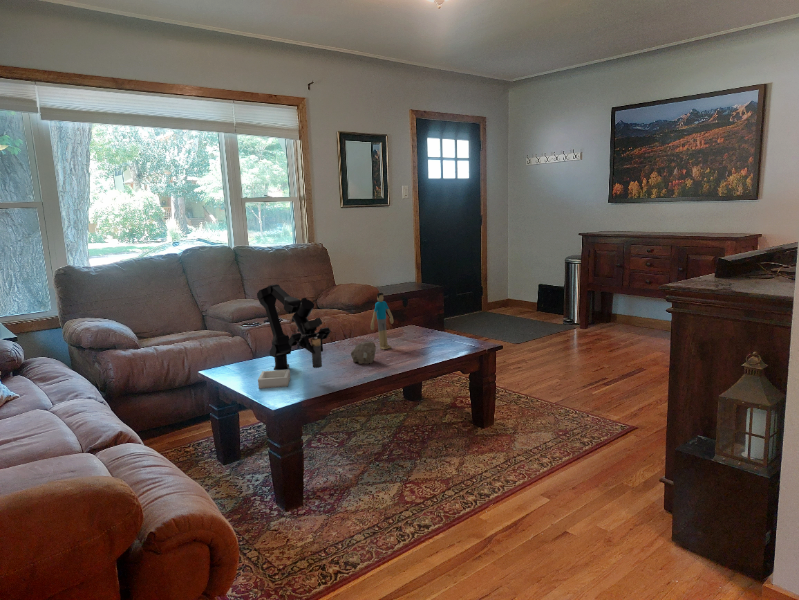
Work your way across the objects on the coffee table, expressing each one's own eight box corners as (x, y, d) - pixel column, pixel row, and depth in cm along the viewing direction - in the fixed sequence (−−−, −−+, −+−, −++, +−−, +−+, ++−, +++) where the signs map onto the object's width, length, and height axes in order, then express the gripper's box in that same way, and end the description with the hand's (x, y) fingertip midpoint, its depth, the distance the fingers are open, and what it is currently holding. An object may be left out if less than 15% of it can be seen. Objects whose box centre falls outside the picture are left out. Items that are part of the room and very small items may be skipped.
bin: (263, 379, 241) (262, 371, 240) (290, 378, 242) (289, 369, 241) (258, 388, 229) (257, 379, 228) (287, 386, 230) (286, 377, 229)
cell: (313, 365, 236) (311, 336, 233) (322, 364, 236) (320, 335, 234) (312, 368, 232) (310, 338, 229) (321, 367, 232) (320, 338, 230)
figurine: (377, 352, 279) (374, 295, 274) (368, 350, 284) (366, 294, 279) (399, 346, 290) (397, 291, 285) (391, 344, 295) (389, 290, 290)
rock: (346, 353, 257) (348, 343, 264) (353, 370, 261) (355, 360, 268) (373, 347, 254) (375, 337, 261) (380, 364, 259) (381, 355, 266)
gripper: (289, 315, 227) (305, 345, 220) (327, 309, 239) (343, 337, 232) (281, 331, 234) (296, 360, 228) (318, 324, 246) (333, 352, 240)
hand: (318, 352), depth 232 cm, fingers closed on cell, 4 cm apart
